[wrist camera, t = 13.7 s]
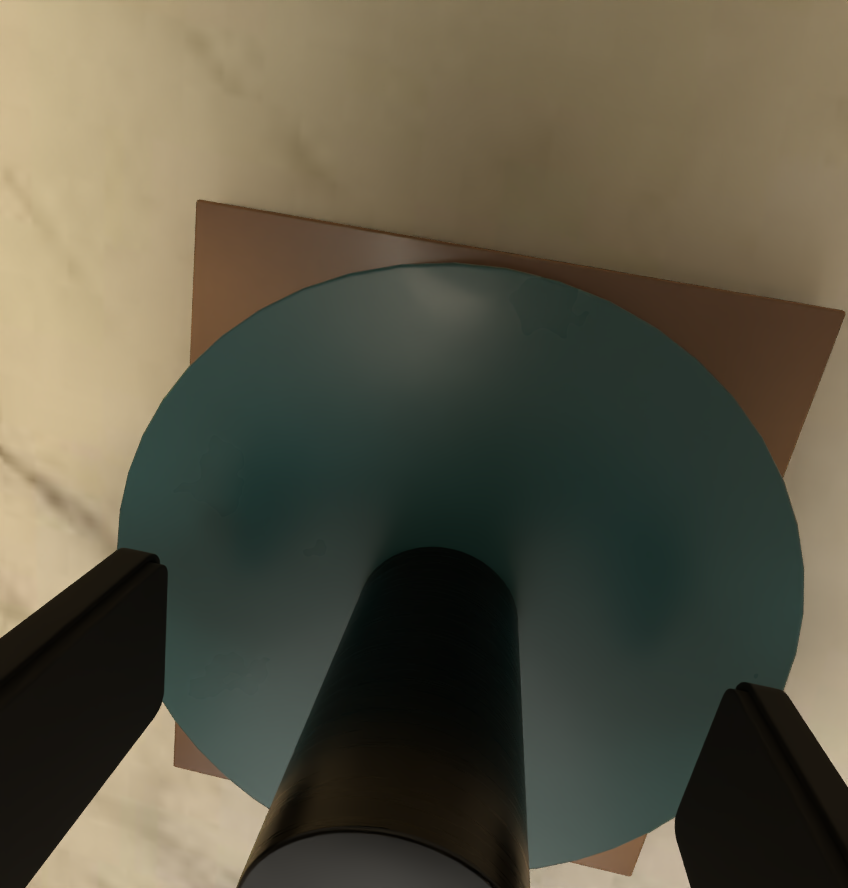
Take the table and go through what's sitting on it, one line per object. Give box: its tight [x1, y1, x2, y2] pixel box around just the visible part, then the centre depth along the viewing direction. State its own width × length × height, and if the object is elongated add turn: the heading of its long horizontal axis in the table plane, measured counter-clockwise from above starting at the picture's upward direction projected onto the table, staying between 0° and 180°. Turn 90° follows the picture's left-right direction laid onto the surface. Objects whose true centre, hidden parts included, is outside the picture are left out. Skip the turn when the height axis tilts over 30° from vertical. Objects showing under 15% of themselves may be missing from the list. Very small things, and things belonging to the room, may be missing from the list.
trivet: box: [174, 200, 845, 876], centre depth 13 cm, size 14×12×1 cm
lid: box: [117, 262, 804, 888], centre depth 10 cm, size 14×14×7 cm
